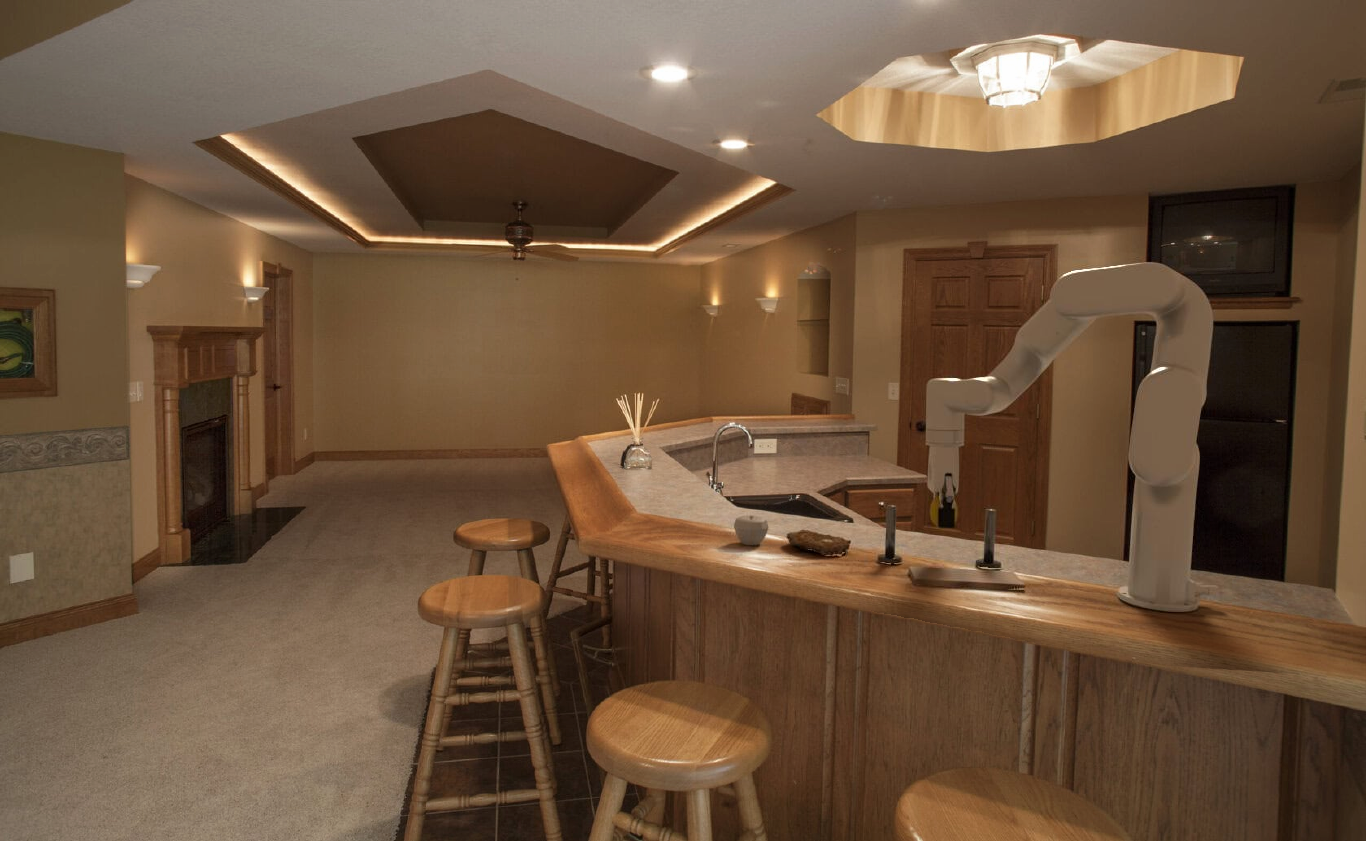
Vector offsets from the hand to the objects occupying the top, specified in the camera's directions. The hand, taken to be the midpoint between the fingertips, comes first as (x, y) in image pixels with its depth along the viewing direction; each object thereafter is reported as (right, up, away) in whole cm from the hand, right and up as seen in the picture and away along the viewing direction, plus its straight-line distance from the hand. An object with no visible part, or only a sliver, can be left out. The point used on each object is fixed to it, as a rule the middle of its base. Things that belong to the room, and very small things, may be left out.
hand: (943, 523), depth 168 cm
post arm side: (+9, -9, 0) cm, 13 cm away
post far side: (-11, -8, +3) cm, 14 cm away
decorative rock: (-25, -8, +12) cm, 29 cm away
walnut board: (0, -10, -11) cm, 15 cm away
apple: (-39, -7, +17) cm, 43 cm away
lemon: (0, -2, 0) cm, 2 cm away
